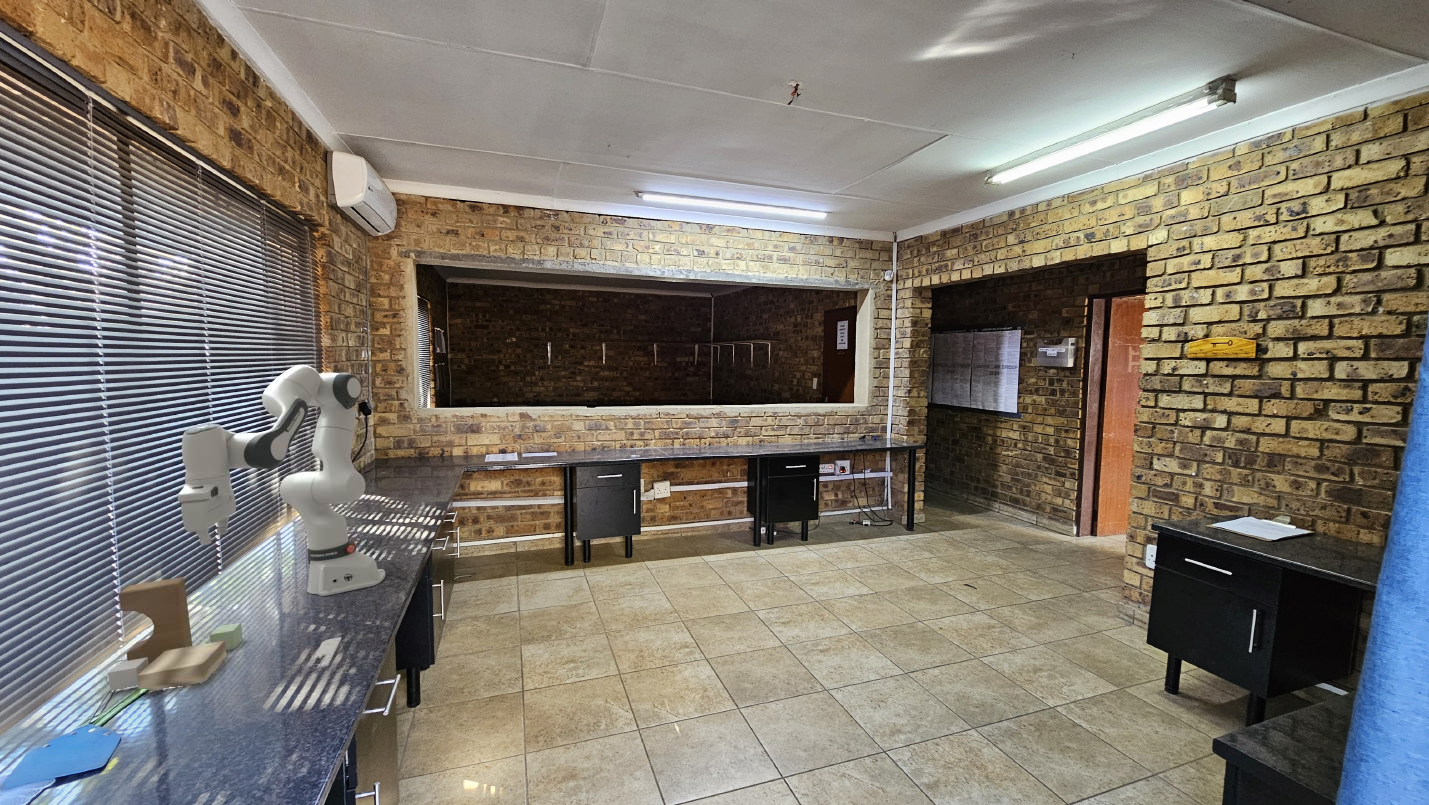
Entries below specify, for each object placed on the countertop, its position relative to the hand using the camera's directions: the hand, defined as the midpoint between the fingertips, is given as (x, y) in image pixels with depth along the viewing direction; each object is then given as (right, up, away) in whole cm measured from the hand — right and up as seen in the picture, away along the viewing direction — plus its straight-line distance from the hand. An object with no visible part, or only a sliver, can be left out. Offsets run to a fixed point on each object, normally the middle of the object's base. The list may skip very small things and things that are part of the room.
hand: (214, 538), depth 150 cm
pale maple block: (+3, -31, -11) cm, 33 cm away
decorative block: (-11, -30, -3) cm, 32 cm away
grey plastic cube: (-7, -31, -14) cm, 35 cm away
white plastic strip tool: (+31, -29, -3) cm, 43 cm away
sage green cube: (+1, -29, +3) cm, 30 cm away
